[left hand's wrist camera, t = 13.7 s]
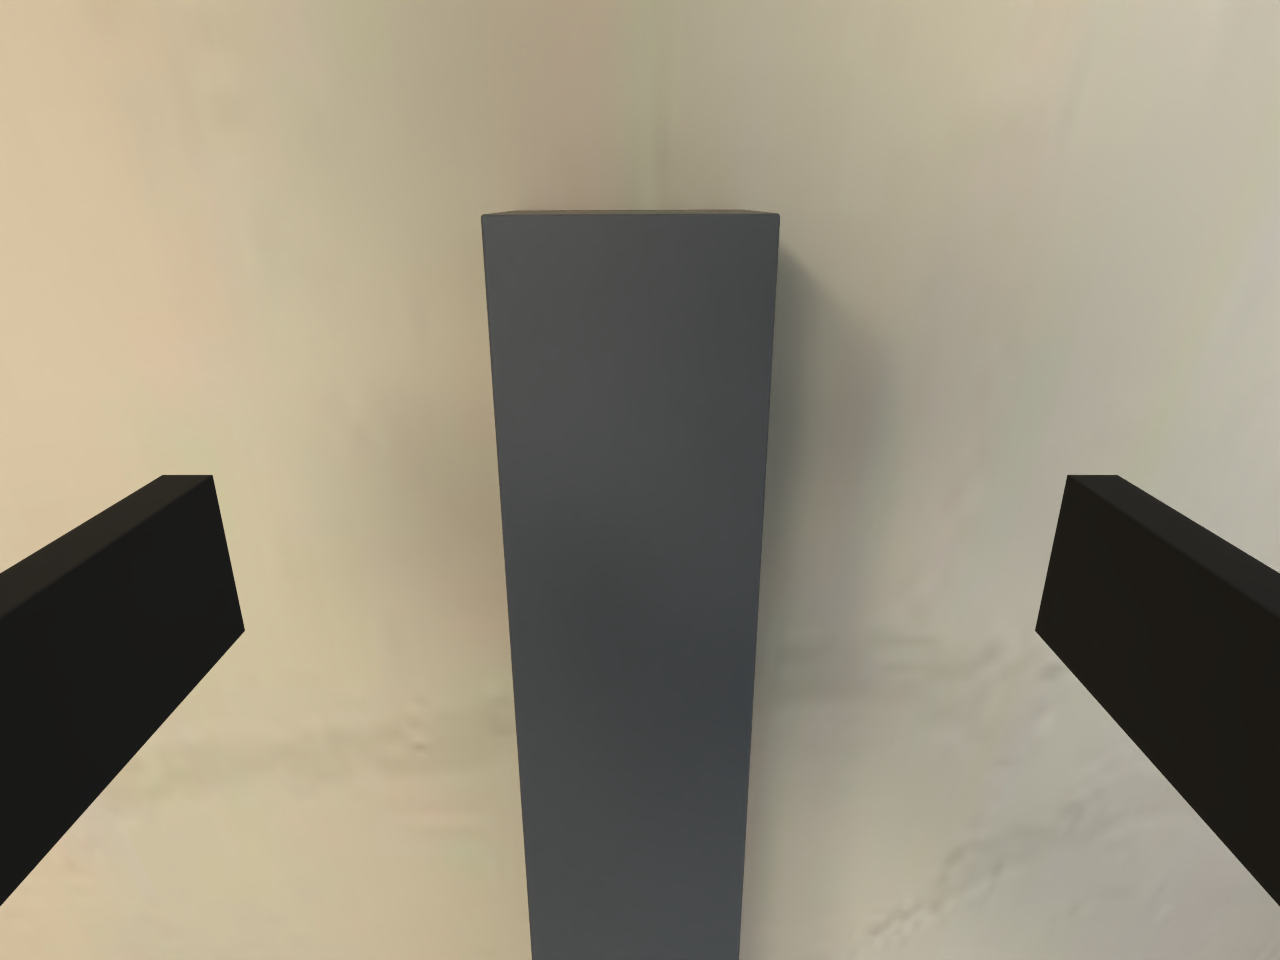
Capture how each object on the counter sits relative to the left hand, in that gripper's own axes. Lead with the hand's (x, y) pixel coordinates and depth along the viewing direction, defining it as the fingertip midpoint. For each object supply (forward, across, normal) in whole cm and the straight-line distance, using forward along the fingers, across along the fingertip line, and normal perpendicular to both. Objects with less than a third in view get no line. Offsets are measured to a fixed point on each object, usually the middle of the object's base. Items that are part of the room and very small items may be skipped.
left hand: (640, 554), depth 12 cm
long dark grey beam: (+21, 0, -22) cm, 30 cm away
